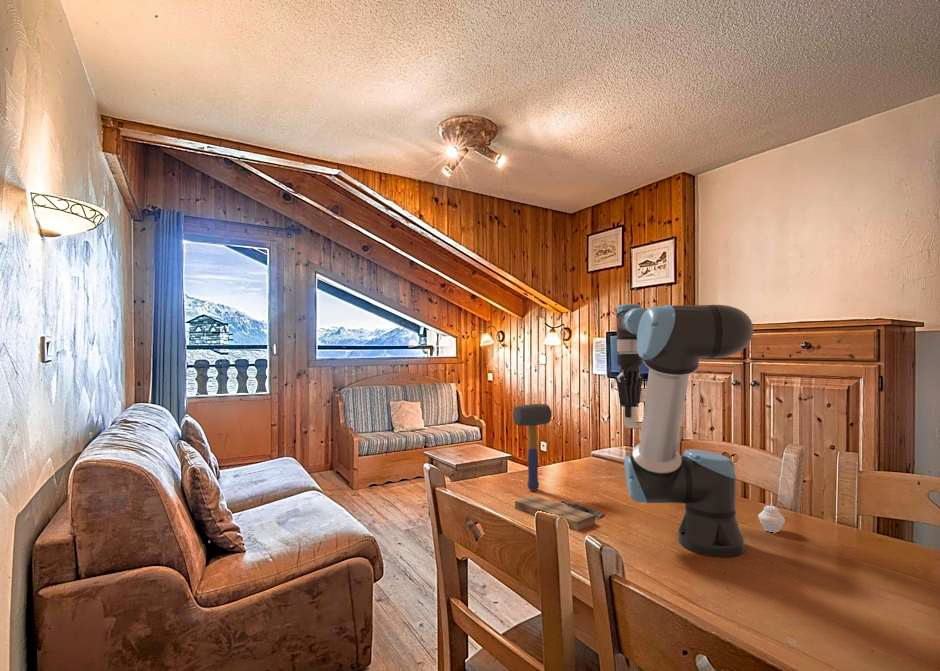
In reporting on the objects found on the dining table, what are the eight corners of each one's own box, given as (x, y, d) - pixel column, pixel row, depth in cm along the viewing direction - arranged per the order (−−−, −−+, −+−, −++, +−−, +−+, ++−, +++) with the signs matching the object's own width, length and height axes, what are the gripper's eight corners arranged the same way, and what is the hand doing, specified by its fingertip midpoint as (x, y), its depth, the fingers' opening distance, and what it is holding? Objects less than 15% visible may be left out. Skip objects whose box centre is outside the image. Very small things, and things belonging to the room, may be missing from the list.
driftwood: (607, 517, 147) (607, 510, 147) (593, 523, 143) (593, 515, 143) (553, 501, 163) (553, 495, 163) (539, 506, 158) (539, 499, 159)
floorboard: (594, 523, 141) (594, 514, 141) (577, 530, 136) (577, 521, 136) (532, 502, 159) (532, 495, 159) (515, 508, 154) (514, 500, 154)
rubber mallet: (522, 495, 167) (521, 406, 167) (512, 489, 174) (511, 403, 174) (554, 490, 171) (553, 404, 171) (543, 484, 178) (542, 401, 178)
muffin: (755, 531, 134) (755, 505, 134) (762, 525, 138) (761, 500, 138) (782, 537, 130) (781, 511, 130) (787, 531, 134) (787, 505, 134)
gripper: (630, 352, 164) (631, 423, 164) (607, 353, 155) (608, 428, 155) (651, 352, 158) (652, 426, 158) (628, 353, 150) (629, 431, 149)
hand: (630, 427), depth 157 cm, fingers closed
